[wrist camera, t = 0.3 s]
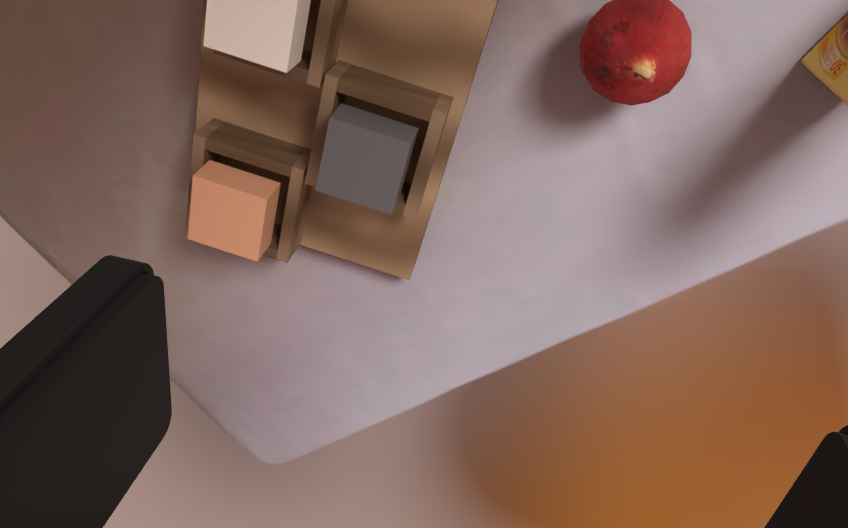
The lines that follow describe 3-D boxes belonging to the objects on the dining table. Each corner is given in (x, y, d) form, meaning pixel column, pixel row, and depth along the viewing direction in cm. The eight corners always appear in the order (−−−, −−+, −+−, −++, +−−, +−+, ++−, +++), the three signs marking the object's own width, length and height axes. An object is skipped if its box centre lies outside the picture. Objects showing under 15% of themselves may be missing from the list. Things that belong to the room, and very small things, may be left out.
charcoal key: (341, 103, 40) (329, 117, 38) (418, 128, 40) (411, 143, 38) (326, 173, 43) (315, 190, 41) (399, 197, 43) (391, 214, 41)
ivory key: (230, -53, 37) (210, -46, 35) (315, -25, 37) (300, -17, 35) (221, 35, 39) (203, 46, 37) (300, 60, 39) (286, 72, 37)
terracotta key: (209, 159, 44) (192, 175, 42) (280, 182, 44) (267, 199, 42) (203, 221, 47) (187, 239, 45) (270, 243, 47) (257, 261, 45)
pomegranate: (582, 87, 43) (585, 134, 36) (575, -10, 40) (577, 22, 33) (681, 74, 41) (704, 121, 35) (681, -27, 38) (705, 2, 32)
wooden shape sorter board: (228, -107, 40) (189, -100, 36) (503, -17, 40) (496, 0, 36) (201, 196, 52) (169, 228, 48) (414, 265, 52) (401, 303, 48)
